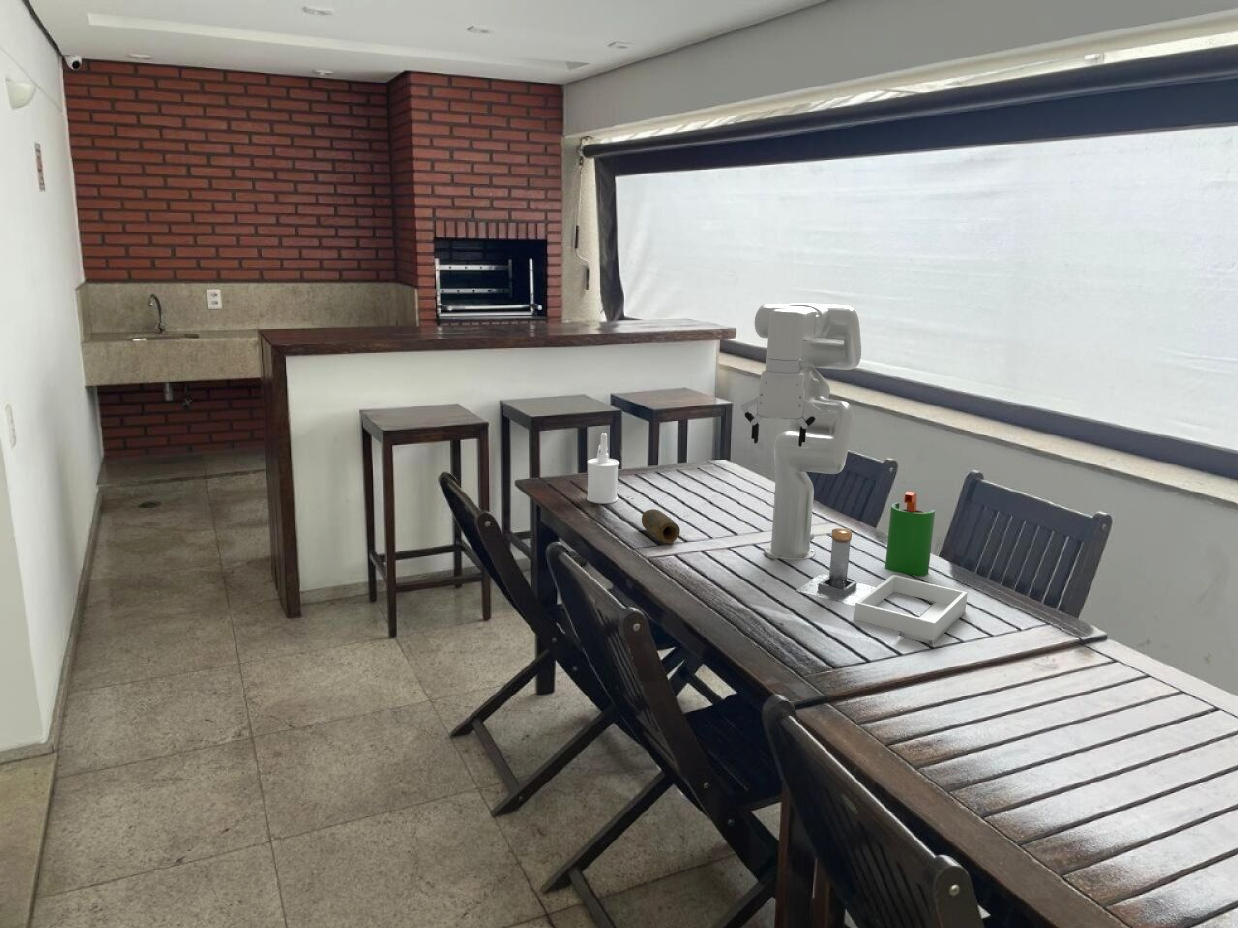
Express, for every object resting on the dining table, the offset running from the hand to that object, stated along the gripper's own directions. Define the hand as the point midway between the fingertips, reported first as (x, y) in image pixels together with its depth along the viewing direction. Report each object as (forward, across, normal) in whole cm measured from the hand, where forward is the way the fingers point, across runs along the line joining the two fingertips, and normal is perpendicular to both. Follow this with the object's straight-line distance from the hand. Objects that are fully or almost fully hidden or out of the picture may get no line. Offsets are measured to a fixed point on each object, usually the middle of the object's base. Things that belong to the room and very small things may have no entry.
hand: (777, 443), depth 214 cm
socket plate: (+33, -15, +1) cm, 37 cm away
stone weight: (+33, +30, -28) cm, 53 cm away
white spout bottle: (+33, +53, -58) cm, 85 cm away
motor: (+33, -32, -19) cm, 50 cm away
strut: (+32, -15, +1) cm, 36 cm away
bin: (+33, -31, +11) cm, 46 cm away
